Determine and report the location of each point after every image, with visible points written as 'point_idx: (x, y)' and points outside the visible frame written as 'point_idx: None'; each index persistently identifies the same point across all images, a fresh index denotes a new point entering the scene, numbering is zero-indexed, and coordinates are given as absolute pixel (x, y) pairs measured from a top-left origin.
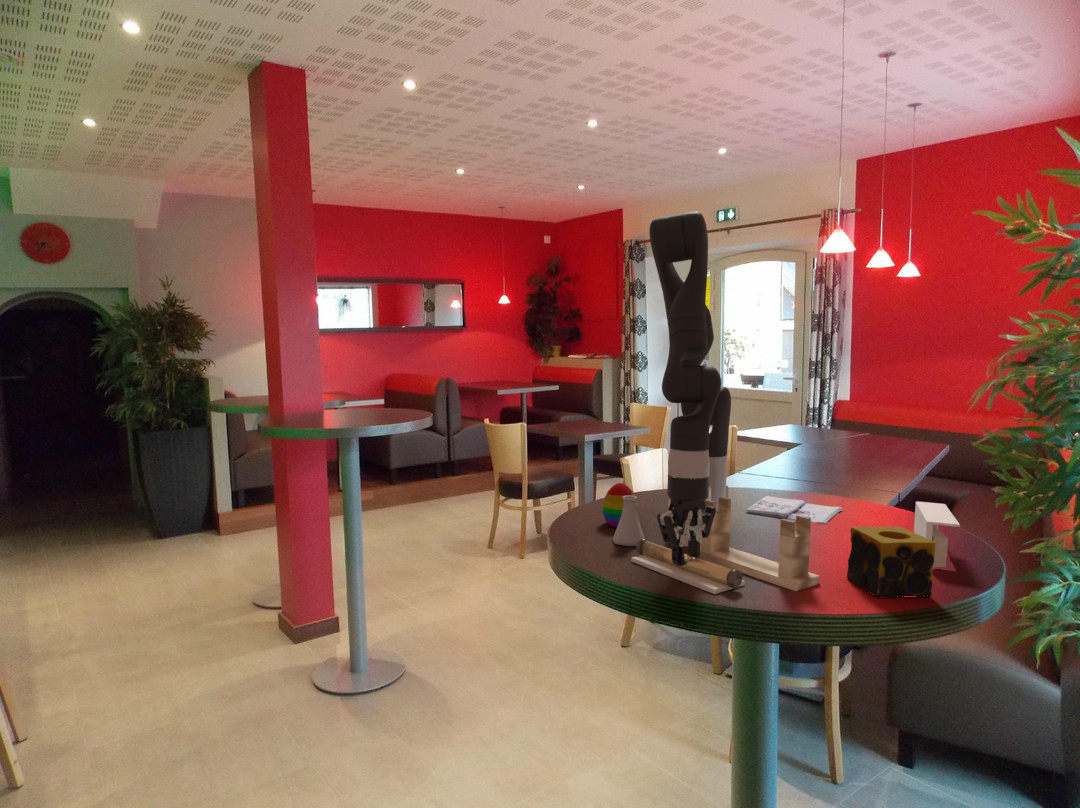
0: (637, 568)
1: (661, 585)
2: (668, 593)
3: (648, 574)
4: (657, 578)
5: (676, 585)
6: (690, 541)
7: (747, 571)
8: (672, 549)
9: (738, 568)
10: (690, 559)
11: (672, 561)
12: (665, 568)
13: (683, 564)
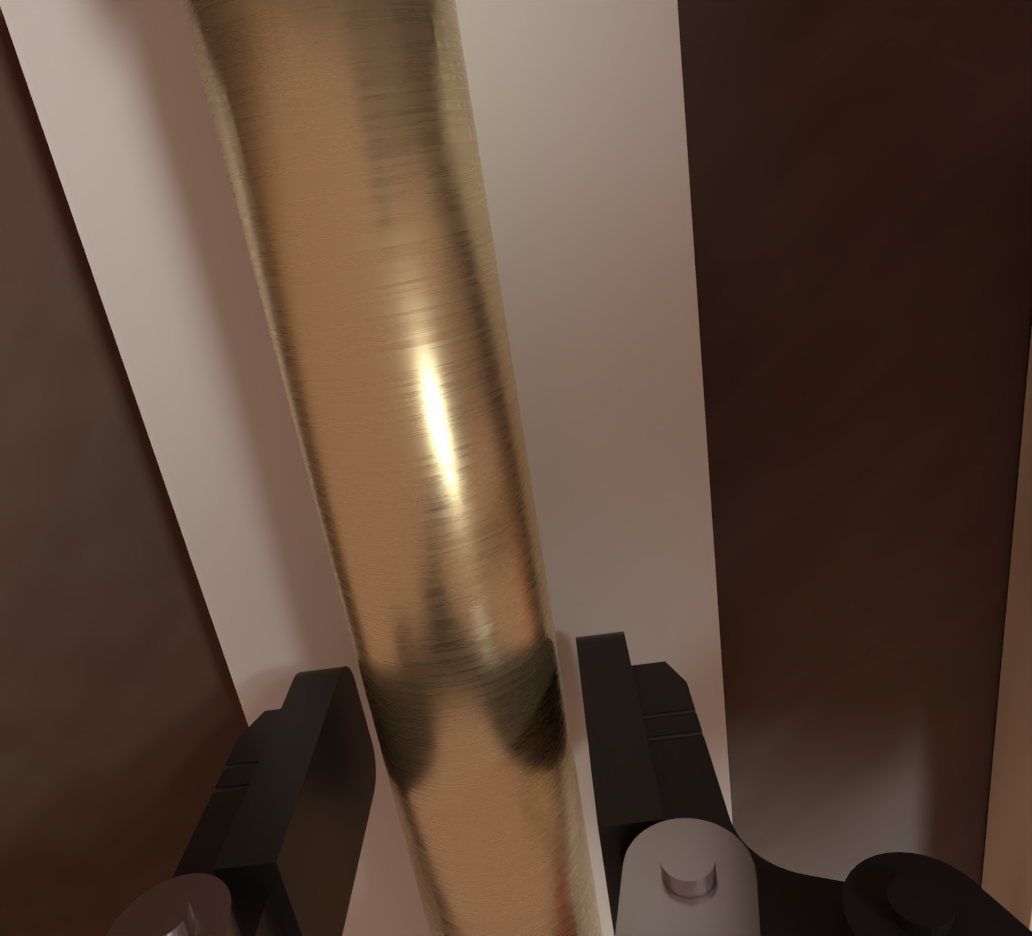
0: (2, 286)
1: (51, 790)
2: (30, 928)
3: (53, 515)
4: (97, 644)
5: (189, 834)
6: (610, 867)
7: (1000, 902)
8: (188, 860)
9: (1008, 820)
10: (431, 875)
11: (263, 716)
12: (253, 570)
13: (371, 783)
